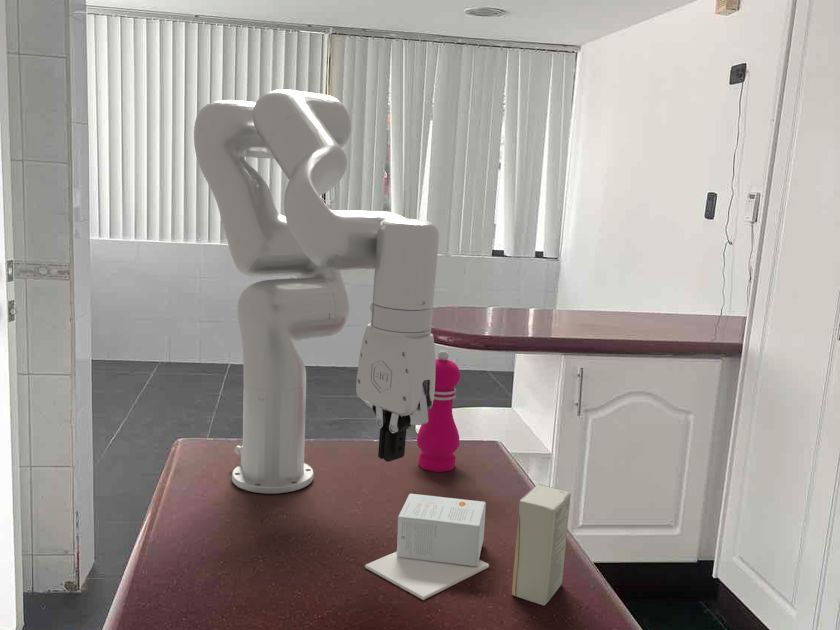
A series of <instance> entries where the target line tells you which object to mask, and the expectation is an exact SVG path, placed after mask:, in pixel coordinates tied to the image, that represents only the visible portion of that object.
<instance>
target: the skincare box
mask: <svg viewBox="0 0 840 630" xmlns="http://www.w3.org/2000/svg"><path fill="white" fill-rule="evenodd" d="M571 495H572V492H571V491H567V490H564V489H560V488H556V487H553V486H552V487H551V486H549V485H545V484H541V483H537V484H535V486H534V487H533V488H531V489H530V490H529V491H528V492H527V493H526V494H525V495H524V496H522V498H521V499H520V500H519V505H518V506H519V507H518V508H519V509H518V518H517V527H516V528H517V529H516V530H517V531H516V541H515V550H514V562H513V563H514V564H513V573H512V574H513V575H512V585H511V587H512V588H511V596H514V597H517V598H520V599H522V600H525V601H529V602H531V603H534V604H538V605H541V606H543V607H544V606H545V605H546V604H547V603H549V601H550V600H551V598H553V596H554V595H555V594H556V592H557V591H558V590H559V588H560V587H561V585H562V583H563V576H564V563H565V555H566V545H567V543H566V542H567V535H568V534H567V533H568V527H569V526H568V525H569V515H570V506H571V497H572V496H571Z"/></svg>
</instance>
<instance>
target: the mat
mask: <svg viewBox="0 0 840 630" xmlns="http://www.w3.org/2000/svg"><path fill="white" fill-rule="evenodd" d="M364 568H365V569H367V571H371V572H372V573H374V574H375V575H378V576H379V577H381V578H382V579H385V580H386V581H388V582H390V583H392V584H394V585H395V586H397V587H399V588H400V589H402V590H404V591H406V592H409V594H412V595H414V596H415V597H417V598H419V599H420V600H422V601H425V600H426V599H428V598H431V597H433V596H434V595H437V594H439V593H440V592H442V591H444V590H446V589H448V588H451V587H452V586H454V585H456V584H458V583H460V582H462V581H464V580H466V579H469V578H470V577H473V576H474V575H476V574H478V573H480V572H482V571H484V570H486V569H488V568H490V563H488V562H485V561H483V560H481V559H479V562H478V566H477V567H474V566H467V565H458V564H450V563H442V562H434V561H426V560H418V559H409V558H402V557H397V551H394V552H393V553H390V554H387V555H385V556H382V557H379V558H378V559H376V560H373V561H370V562H369V563H366V564H365V565H364Z"/></svg>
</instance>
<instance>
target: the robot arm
mask: <svg viewBox="0 0 840 630" xmlns="http://www.w3.org/2000/svg"><path fill="white" fill-rule="evenodd" d="M350 118H351V117H350V115H349V112H348V110H347V108H346V106H345V105H344V104H343V102H342V101H340V100H339V99H338V98H336V97H334V96H332V95H328V94H323V93H316V92H309V91H302V90H295V89H275V90H271V91H268V92H266V93H264V94H263V95H261V96H260V97H259V98H258V99H257V100H256V101H247V100H236V99H235V100H233V99H226V100H225V99H223V100H216V101H212V102H209V103H207V104H205V105H204V106H203V107H202V108H201V109H200V110H199V111H198V113H197V116H196V118H195V121H194V127H193V145H194V151H195V152H194V153H195V155H196V156H195V157H196V158H197V159H196V160H197V163H198V166H199V168H200V170H201V173H202V175H203V177H204V179H205V181H206V182H207V184H208V186H209V188H210V191H211V192H212V195H213V197H214V199H215V201H216V204H217V205H216V206H217V207H218V213H219V216H220V219H221V220H220V221H221V222H222V223H221V224H222V227H223V230H224V233H225V238H226V240H227V244H228V248H229V251H230V254H231V258H232V260H233V263H234V265H235V267H236V268H237V270H238V271H239V272H240V273H241V274H243V275H245V276H248V277H256V278H257V277H281V276H283V277H284V276H295V277H296V278H293V277H291V278H276V279H275V278H274V279H265V280H260V281H257V282H254V283H252V284H250V285H248V286H247V287H245V289H244V290H243V291H241V293H240V295H239V298H238V300H237V301H238V302H237V308H236V309H237V311H236V312H237V318H238V319H237V320H238V324H239V325H238V326H239V331H240V336H241V337H240V338H241V343H242V346H241V347H242V360H243V364H242V367H243V368H242V370H243V372H242V373H243V376H242V377H243V378H242V379H243V380H242V382H243V383H242V384H243V391H242V392H243V393H242V394H243V397H242V400H243V401H242V402H243V404H242V407H243V408H242V409H243V410H242V443H241V445H236V446H235V447H234V450H233V451H234V453H235V454H236V455H239V456H240V464H238V466H235V468H234V469H233V470H232V471H231V472H232V473H231V481H232V483H233V484H234V485H235V486H236V487H237V488H239V489H240V490H244V491H246V492H251V493H257V494H269V495H271V494H273V495H274V494H285V493H290V492H296V491H298V490H301V489H304V488H305V487H307V486H309V485H310V484H311V483H312V482H313V481H314V469H313V468H312V466H310V465H309V464H307V463H305V442H306V441H305V439H306V438H305V437H306V407H307V406H306V401H307V399H306V398H307V370H306V369H307V368H306V366H305V362H304V360H303V358H302V357H301V355H300V354H299V352H298V350H297V349H296V347H295V345H294V342H298V341H301V340H308V339H309V340H310V339H317V338H318V339H319V338H326V337H331V336H335V335H337V334H339V333H341V332H342V331H343V330H344V328H345V327H346V326H347V324H348V321H349V317H350V304H349V303H350V302H349V298H348V294H347V290H346V286H345V283H344V280H343V276H342V273H341V271H352V270H353V271H354V270H357V271H358V270H374V277H373V292H372V293H373V295H372V303H371V304H370V306H369V310H370V312H371V321H370V323H368V324H367V325H366V327H365V330H364V334H363V338H362V342H361V346H360V351H359V358H358V363H357V364H358V365H357V374H356V381H355V382H356V388H355V391H356V392H355V393H356V395H357V397H358V398H359V399H360V400H362V401H363V403H364V404H366V406H368V408H370V409H372V411H373V412H374V414H375V417H376V426H377V427H378V428H379V439H378V454H377V457H378V458H379V459H381V460H384V461H385V462H392V461H395V460H398V459H402V458H403V457H405V452H406V439H407V438H406V436H407V431H408V430H410V429H411V427H412V426H421V425H422V424H426V423H428V411H427V410H429V409H431V407H432V404H433V399H434V391H435V360H436V349H435V339H434V334H433V333H432V323H433V322H432V321H433V312H434V311H433V310H434V307H433V306H434V300H435V299H434V298H435V287H436V276H437V275H436V274H437V263H438V253H439V251H438V250H439V241H440V240H439V237H440V235H439V233H440V232H439V229H438V227H437V225H435V223H433V222H431V221H427V220H423V219H418V218H407V217H405V216H402V215H400V214H399V213H396V212H393V211H387V210H385V211H383V210H364V209H363V210H359V209H358V210H357V209H356V210H355V209H353V210H352V209H351V210H350V209H349V210H348V209H337V210H336V209H335V210H334V209H333V210H332V209H331V208H330V207H329V206H328V205H327V204H326V203H325V201H324V200H323V198H322V197H321V196H322V195H325V194H326V193H328V192H329V191H330V190H332V189H334V188H335V186H337V185H338V183H339V182H340V181H341V180H342V178H343V177H344V175H345V172H346V170H347V165H348V163H347V161H348V160H347V155H346V152H345V151H344V150H343V148H344V147H345V145H346V144H347V142H348V140H349V138H350V135H351V127H352V126H351V124H352V123H351V119H350ZM245 158H253V159H255V158H256V159H271V160H272V159H273V160H275V161H276V162H277V164H278V166H279V167H280V169H281V170H282V172H283V173H284V175H285V176H286V177H287V178H286V179H288V181H287V185H286V189H285V191H284V199H283V200H284V201H283V204H284V206H283V207H284V215H283V214H281V213H280V212H278V210H277V207H276V205H275V203H274V199H273V196H272V192H271V190H270V189H271V188H270V187H269V185H268V184H267V182H266V181H265V180H264V178H263V176H261V175H260V173H259V172H258V171H257V170H256V169H255V168H254V167H253V166H251V165H250V164H249V163H248V162H247V160H246V159H245Z"/></svg>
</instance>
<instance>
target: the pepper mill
mask: <svg viewBox="0 0 840 630" xmlns="http://www.w3.org/2000/svg"><path fill="white" fill-rule="evenodd" d="M448 358H449V352H448V351H446V350H444V349H443V350H440V351H439V352H438V354H437V358H435V391H434V399H433V404H432V407H431V409H429V410H427V411H428V423H426V424H422V425H420V427H419V430H418V431H417V435H416V436H417V437H416V444H417V447H418V449H420V451H421V452H419V454H418V462H417V463H418V466H419V467H420V468H421V469H423V470H425V471H427V472H428V471H430V472H435V473H441V472H442V473H443V472H449V471H452V470H454V469H455V467H456V455H455V454H454V453H456V451H457V450H458V448H459V446H460V435H459V430H458V428H457V425H456V422H455V419H454V416H453V402H454V399H455V398H456V397H457V395H456V393H457V389H456V388H455V387H456V386H457V385H458V383H459V382H460V380H461V379H460V378H461V373H460V368H459V366H458V365H457V364H456V363H455V362H453V361H452V360H450V359H448Z"/></svg>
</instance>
